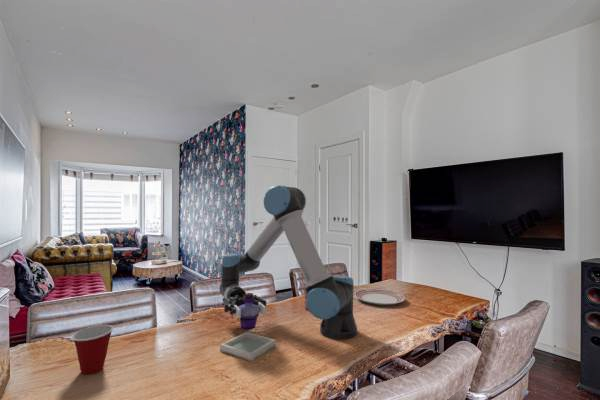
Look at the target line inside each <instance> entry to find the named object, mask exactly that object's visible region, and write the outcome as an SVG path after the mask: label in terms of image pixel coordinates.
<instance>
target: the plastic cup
mask: <svg viewBox="0 0 600 400" xmlns="http://www.w3.org/2000/svg"><path fill="white" fill-rule="evenodd" d="M113 329H114V326H112V325H110V324H97V325H94V326H89V327H86V328H82V329H80V330H78V331H76V332H74V333H73V334H72V335H71V337H70V338H71V339H72V341H73V343H74V345H75V348H76V349H75V350H76V354H77V360H78V364H79V370H80V373H81V374H82V375H85V376H87V375H93V374H96V373H100V372H101V371H102V370H103V368H104V367H105V362H106V358H107V354H108V349H109V343H110V340H111V336H112V335H111V334H112V332H113Z"/></svg>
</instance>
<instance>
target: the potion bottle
mask: <svg viewBox="0 0 600 400" xmlns="http://www.w3.org/2000/svg"><path fill="white" fill-rule="evenodd" d="M254 301H255V297H254V293H252V292H246V293H245V296H244V297H243V302H245V304H244V305H241V306H238V308H239V309H240V310H241V318H238V317H237V316H236V317H237V318H236V319H237V321H239V322H240V329H241V330H244V331H248V330H253V329H255V328H256V325H257V321H258V317H259V315H260V307H259V306H258V305H254V304H253V302H254Z"/></svg>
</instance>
